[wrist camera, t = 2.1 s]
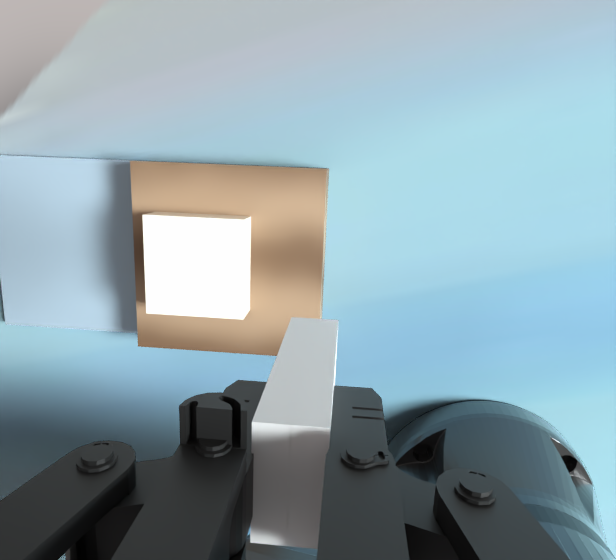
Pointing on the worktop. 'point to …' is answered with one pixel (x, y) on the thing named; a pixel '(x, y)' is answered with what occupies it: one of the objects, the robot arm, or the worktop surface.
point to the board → (264, 248)
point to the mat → (67, 243)
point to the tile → (197, 264)
